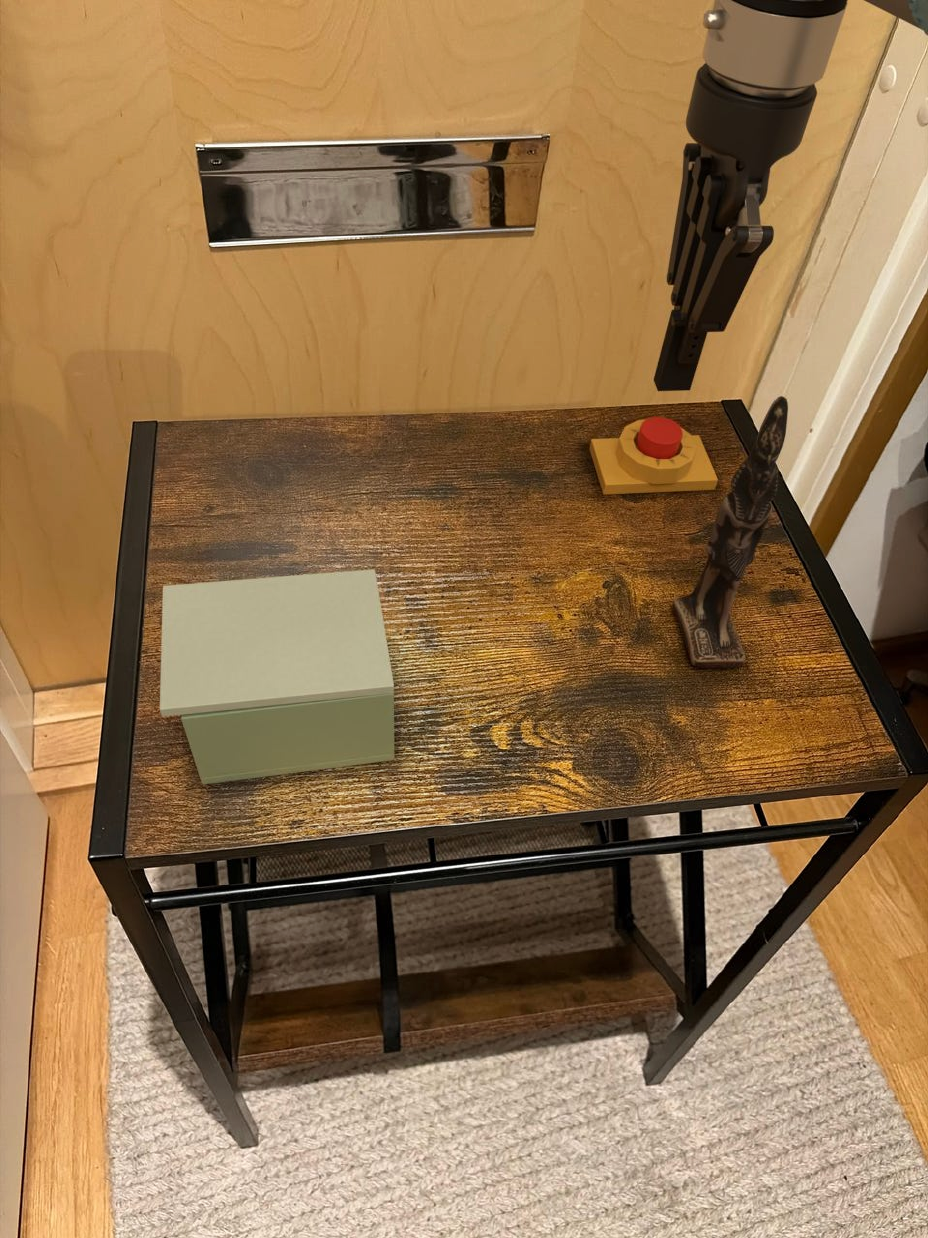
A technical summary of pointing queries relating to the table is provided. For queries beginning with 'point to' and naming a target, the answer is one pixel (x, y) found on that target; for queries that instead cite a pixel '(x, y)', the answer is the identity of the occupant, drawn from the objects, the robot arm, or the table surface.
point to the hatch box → (291, 737)
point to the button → (659, 438)
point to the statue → (733, 550)
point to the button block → (650, 465)
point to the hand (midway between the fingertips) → (671, 384)
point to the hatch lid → (272, 642)
